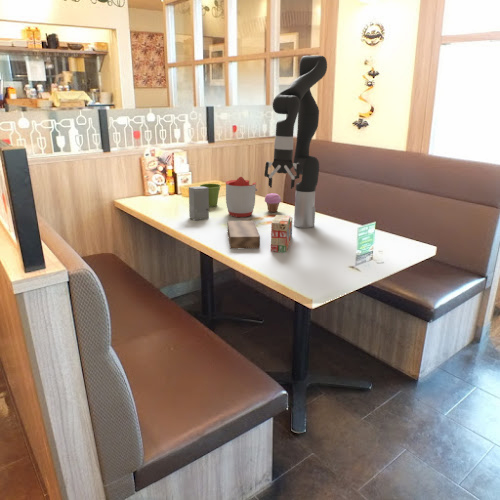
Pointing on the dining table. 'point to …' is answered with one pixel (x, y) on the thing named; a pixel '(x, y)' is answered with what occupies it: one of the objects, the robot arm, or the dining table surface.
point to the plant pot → (213, 193)
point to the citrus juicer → (240, 197)
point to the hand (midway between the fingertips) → (281, 187)
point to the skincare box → (199, 203)
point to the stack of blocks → (281, 233)
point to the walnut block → (243, 234)
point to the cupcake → (272, 201)
